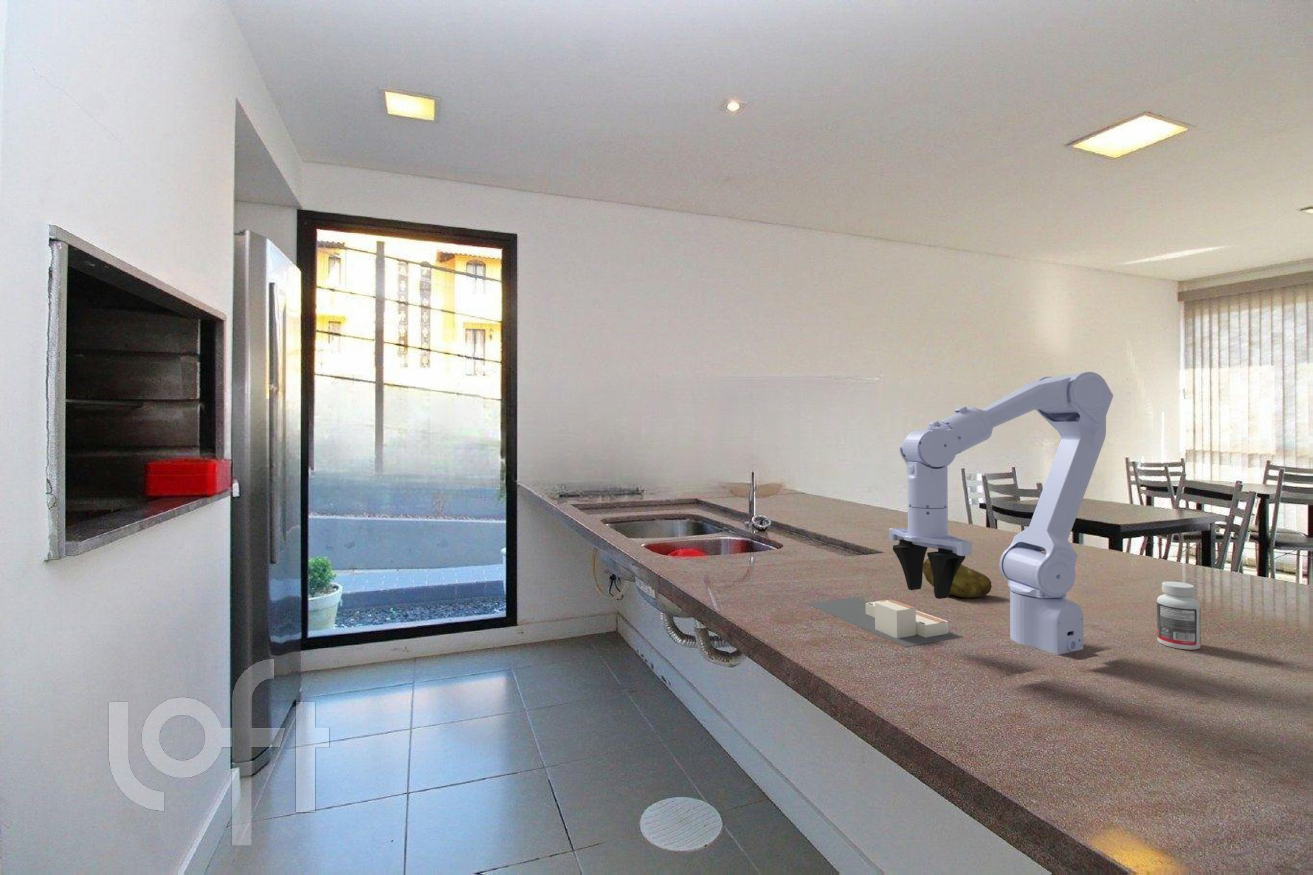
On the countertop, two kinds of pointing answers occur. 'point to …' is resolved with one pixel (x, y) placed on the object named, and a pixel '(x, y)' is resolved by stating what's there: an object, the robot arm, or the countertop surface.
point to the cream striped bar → (919, 622)
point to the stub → (895, 618)
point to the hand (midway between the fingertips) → (927, 593)
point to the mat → (870, 620)
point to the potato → (963, 581)
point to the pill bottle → (1178, 616)
